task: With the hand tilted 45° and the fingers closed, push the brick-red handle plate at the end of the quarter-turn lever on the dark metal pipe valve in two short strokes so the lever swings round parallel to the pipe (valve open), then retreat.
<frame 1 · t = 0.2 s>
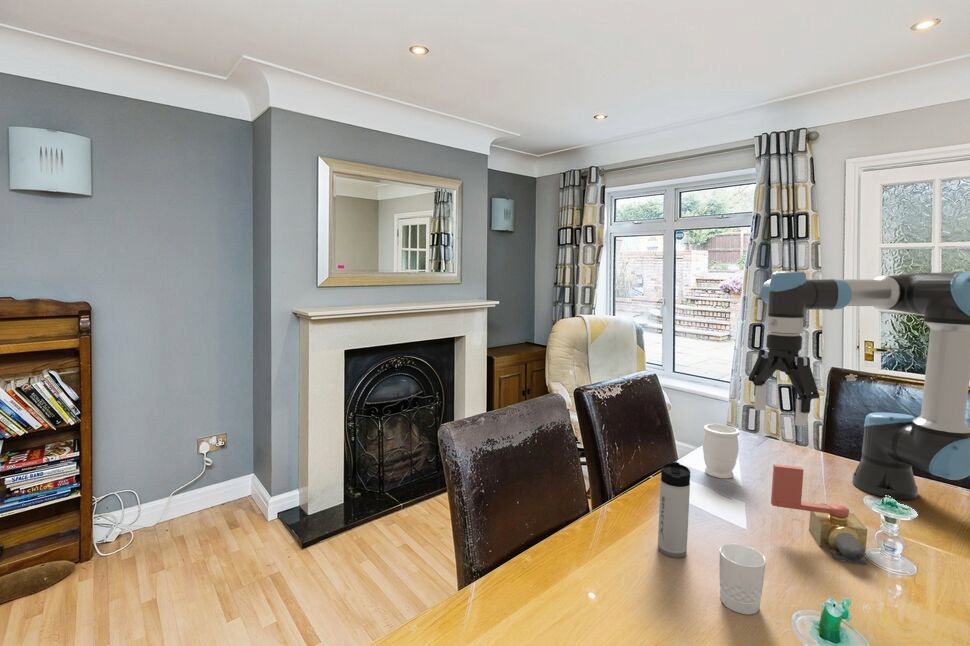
hand: (779, 417, 123), 28 cm above the table, tool pointing down, fingers open, 13 cm apart
valve body: (835, 541, 117), on the table
jar: (718, 474, 157), on the table
travel mug: (671, 550, 113), on the table
white cup: (739, 604, 95), on the table
lever: (810, 489, 117), point 12 cm above the table, hinge at 0.0°
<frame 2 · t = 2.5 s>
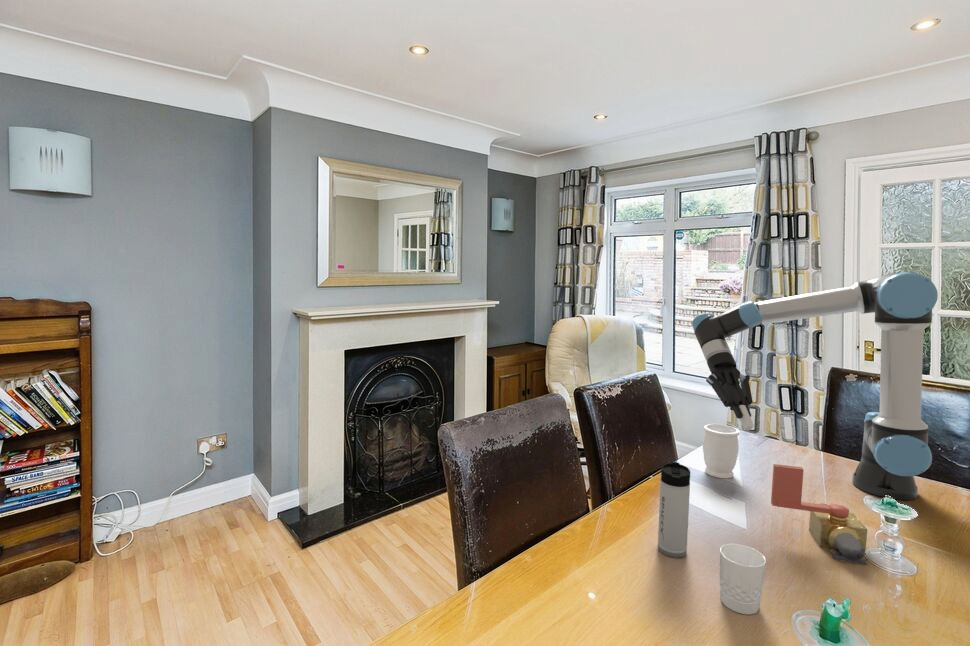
hand: (749, 428, 134), 22 cm above the table, tool tilted 45°, fingers closed
nothing on the table moved.
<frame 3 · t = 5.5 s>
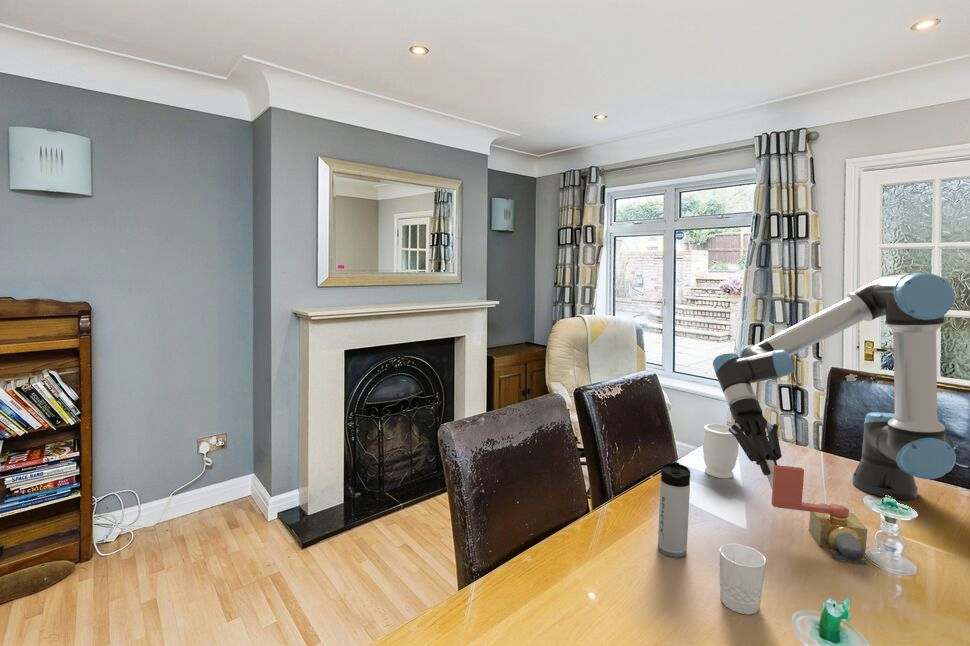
hand: (777, 487, 121), 11 cm above the table, tool tilted 45°, fingers closed
lever: (811, 490, 117), point 12 cm above the table, hinge at 2.7°, touching gripper
everything else where it was.
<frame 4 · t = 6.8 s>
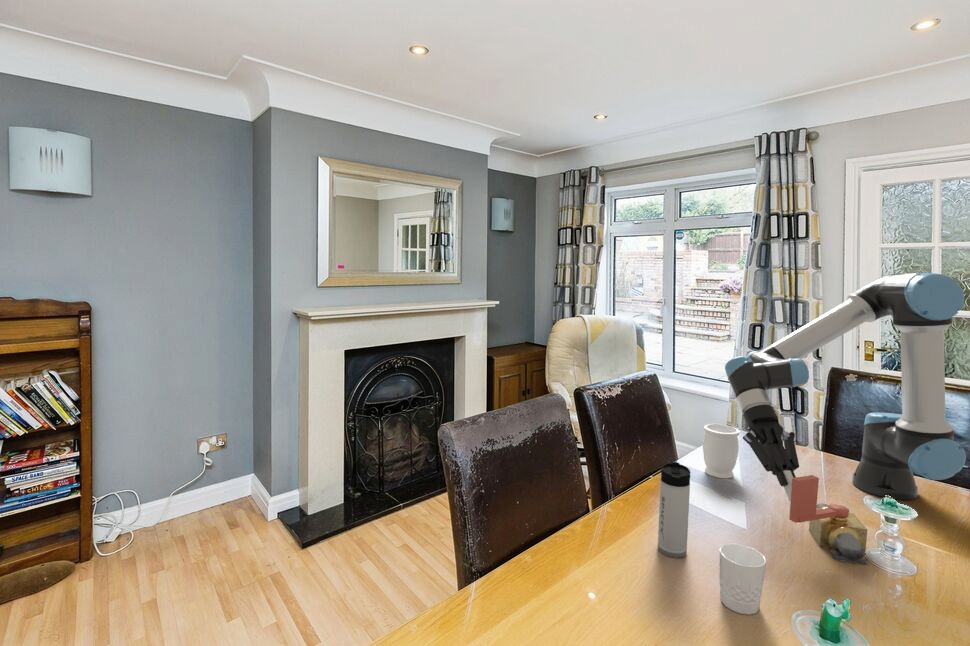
hand: (795, 499, 115), 11 cm above the table, tool tilted 45°, fingers closed
lever: (820, 496, 114), point 12 cm above the table, hinge at 34.7°, touching gripper
everything else where it was.
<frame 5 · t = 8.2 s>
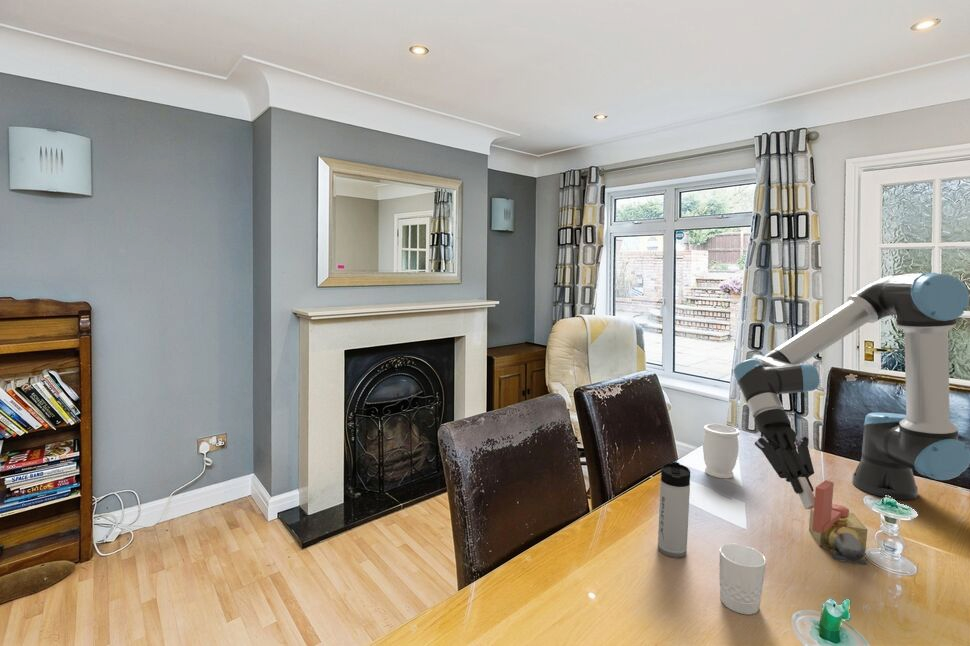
hand: (811, 507, 111), 11 cm above the table, tool tilted 45°, fingers closed
lever: (830, 500, 112), point 12 cm above the table, hinge at 56.3°, touching gripper
everything else where it was.
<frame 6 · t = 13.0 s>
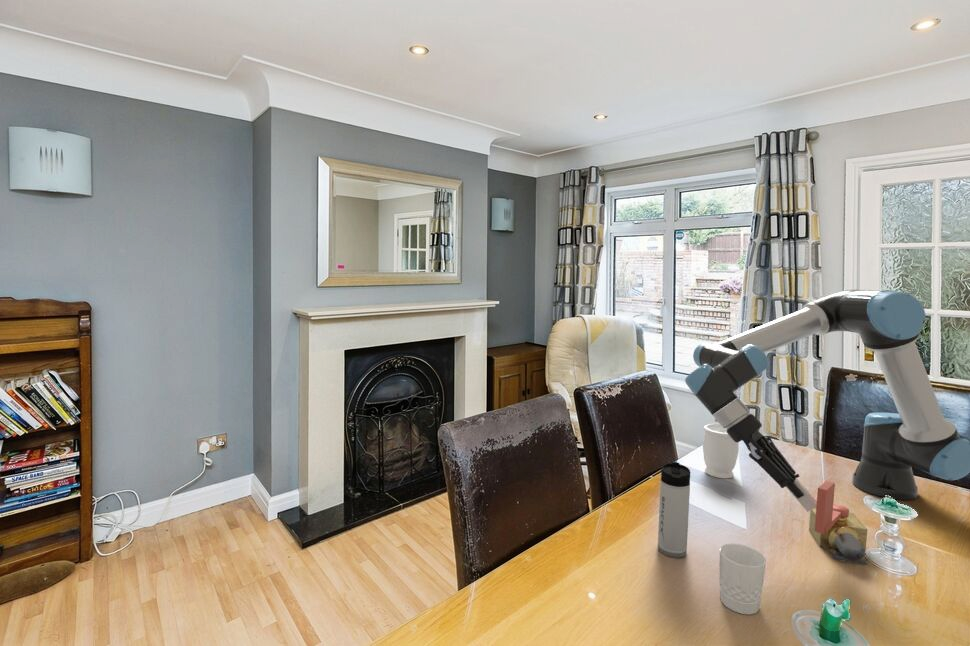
hand: (813, 507, 110), 11 cm above the table, tool tilted 45°, fingers closed
lever: (831, 500, 112), point 12 cm above the table, hinge at 58.0°, touching gripper
everything else where it was.
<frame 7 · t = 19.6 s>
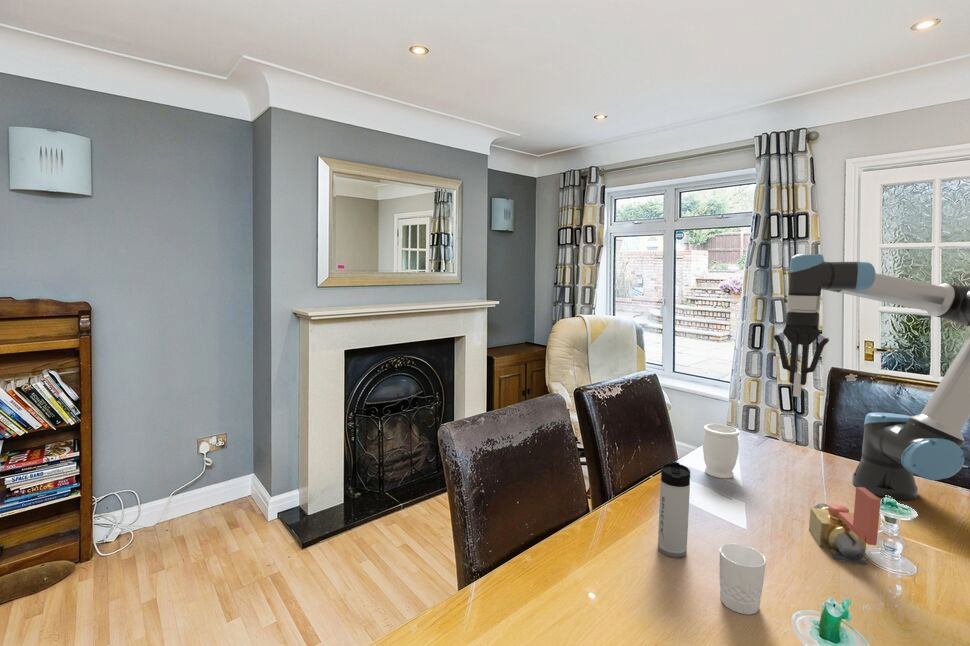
hand: (796, 395, 135), 30 cm above the table, tool pointing down, fingers closed
lever: (853, 504, 110), point 12 cm above the table, hinge at 96.9°
everything else where it was.
at the end: lever at +97° (first picture: +0°) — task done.
